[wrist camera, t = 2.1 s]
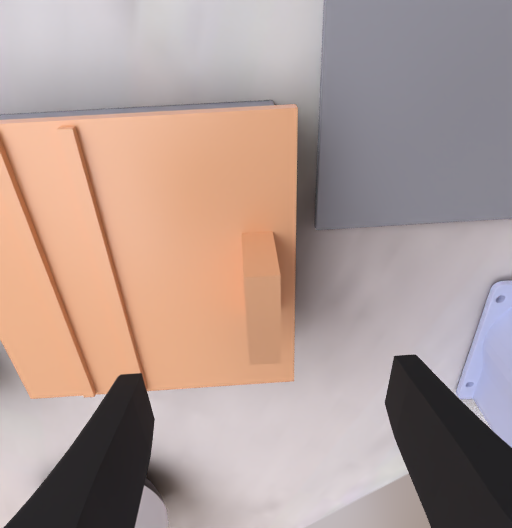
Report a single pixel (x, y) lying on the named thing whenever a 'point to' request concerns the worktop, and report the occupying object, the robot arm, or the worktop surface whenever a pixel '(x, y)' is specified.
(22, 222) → the lid
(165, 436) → the worktop surface
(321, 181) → the mat
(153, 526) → the spread jar
